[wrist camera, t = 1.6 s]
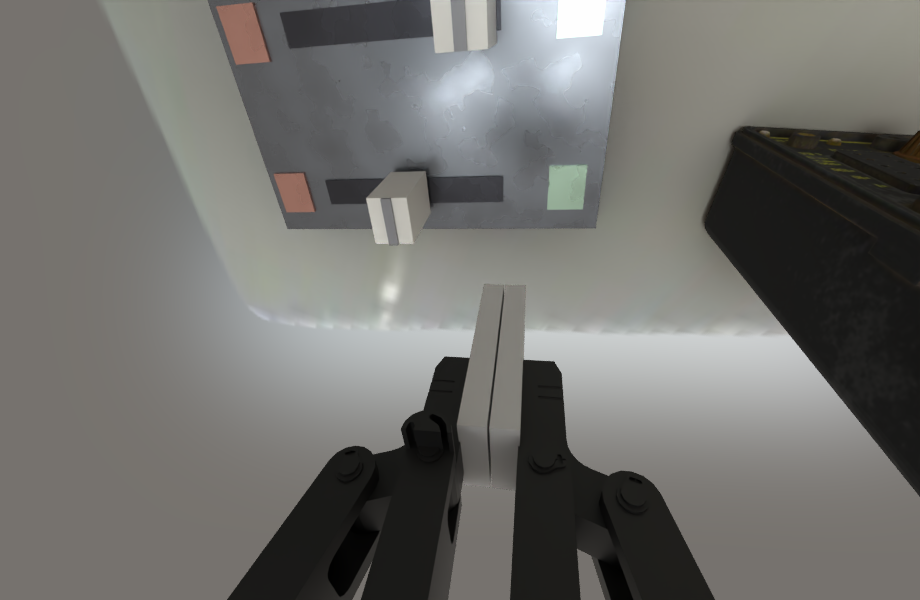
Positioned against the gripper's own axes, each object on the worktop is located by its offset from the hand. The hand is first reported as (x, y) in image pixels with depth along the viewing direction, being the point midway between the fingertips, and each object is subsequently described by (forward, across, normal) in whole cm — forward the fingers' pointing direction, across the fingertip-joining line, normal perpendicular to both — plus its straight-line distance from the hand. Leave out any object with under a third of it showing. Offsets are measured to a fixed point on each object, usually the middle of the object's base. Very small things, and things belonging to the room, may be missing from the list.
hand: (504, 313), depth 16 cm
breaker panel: (+16, -6, +5) cm, 18 cm away
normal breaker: (+14, -2, +10) cm, 17 cm away
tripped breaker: (+14, -8, 0) cm, 16 cm away
